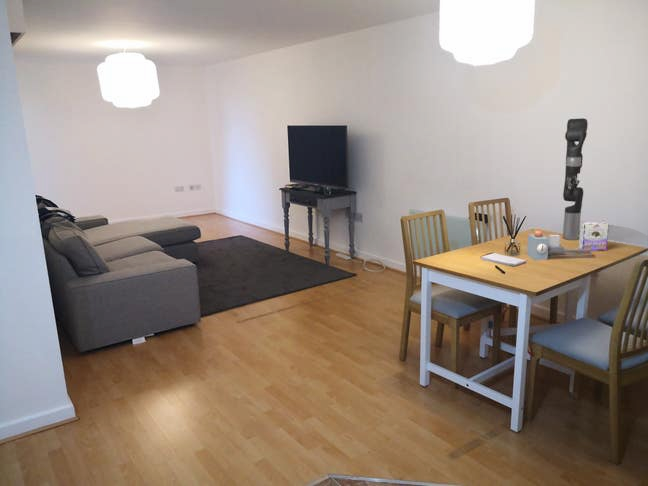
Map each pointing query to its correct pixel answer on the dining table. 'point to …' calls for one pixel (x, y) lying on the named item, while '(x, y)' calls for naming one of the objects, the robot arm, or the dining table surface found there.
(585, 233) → the candy box
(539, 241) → the end cabinet
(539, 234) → the button
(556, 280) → the dining table surface
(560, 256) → the rail track
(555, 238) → the carriage
